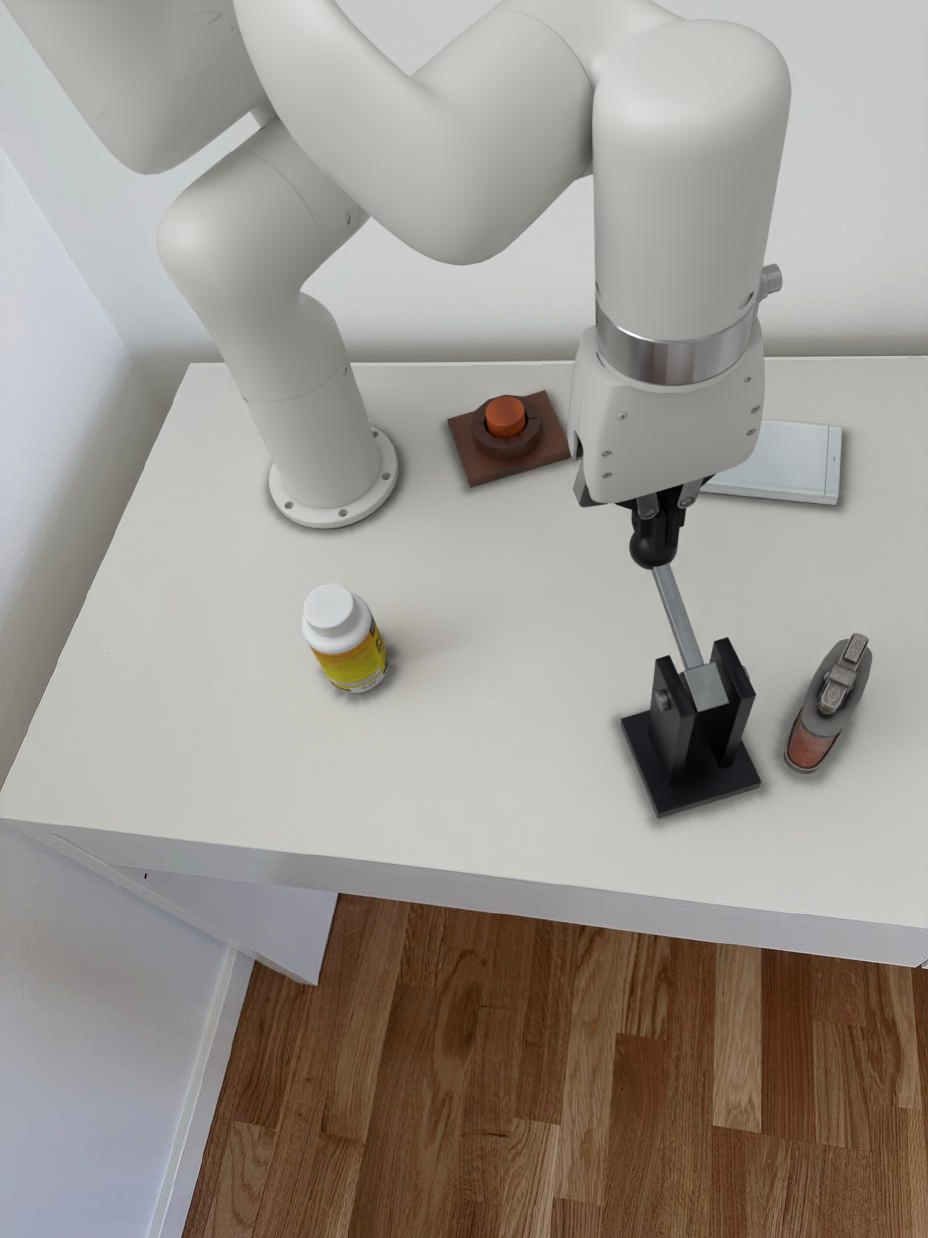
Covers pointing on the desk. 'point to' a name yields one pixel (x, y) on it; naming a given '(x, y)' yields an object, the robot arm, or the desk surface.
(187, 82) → the robot arm
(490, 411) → the button
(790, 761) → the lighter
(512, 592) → the desk surface
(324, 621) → the supplement bottle
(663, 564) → the lever
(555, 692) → the desk surface
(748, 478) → the hard drive
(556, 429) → the button block
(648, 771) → the bracket
